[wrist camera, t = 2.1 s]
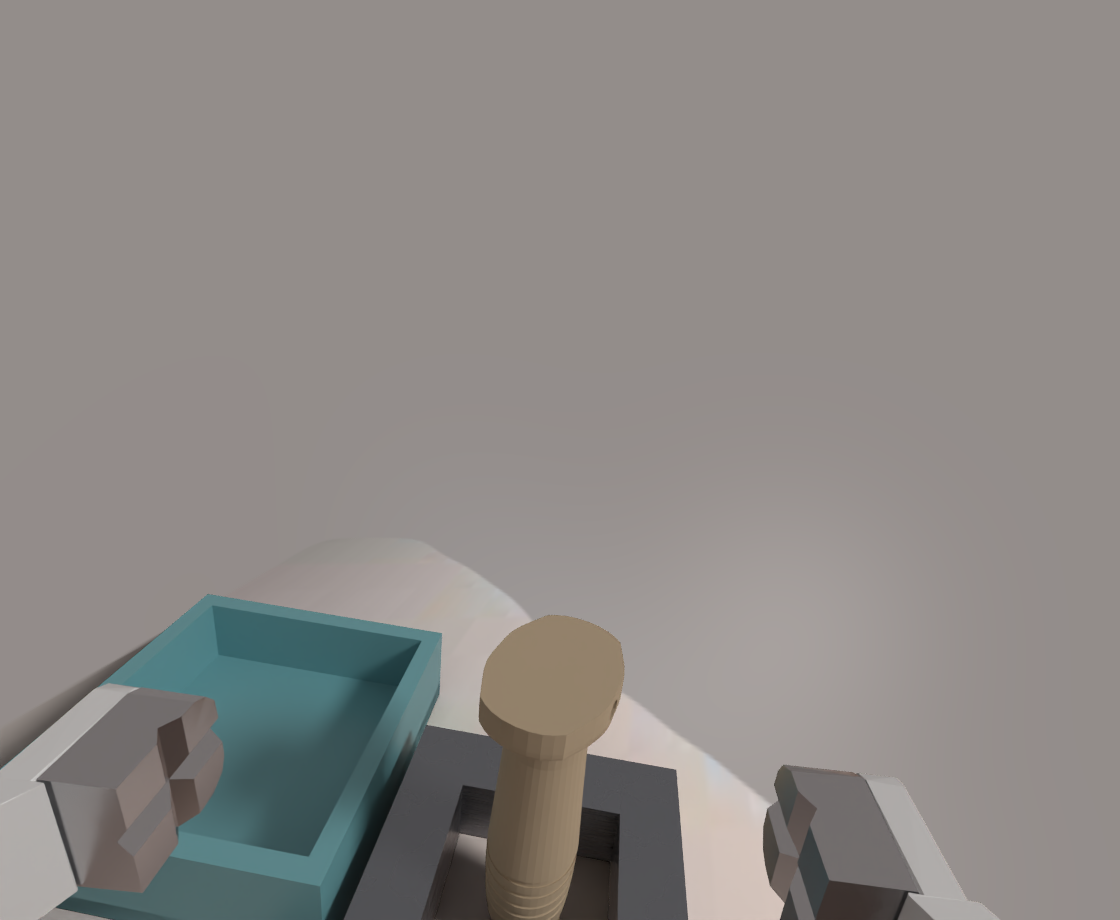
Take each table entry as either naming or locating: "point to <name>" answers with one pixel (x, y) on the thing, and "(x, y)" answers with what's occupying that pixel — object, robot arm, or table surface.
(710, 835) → the table surface
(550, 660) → the handle
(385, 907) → the socket block
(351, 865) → the bin
